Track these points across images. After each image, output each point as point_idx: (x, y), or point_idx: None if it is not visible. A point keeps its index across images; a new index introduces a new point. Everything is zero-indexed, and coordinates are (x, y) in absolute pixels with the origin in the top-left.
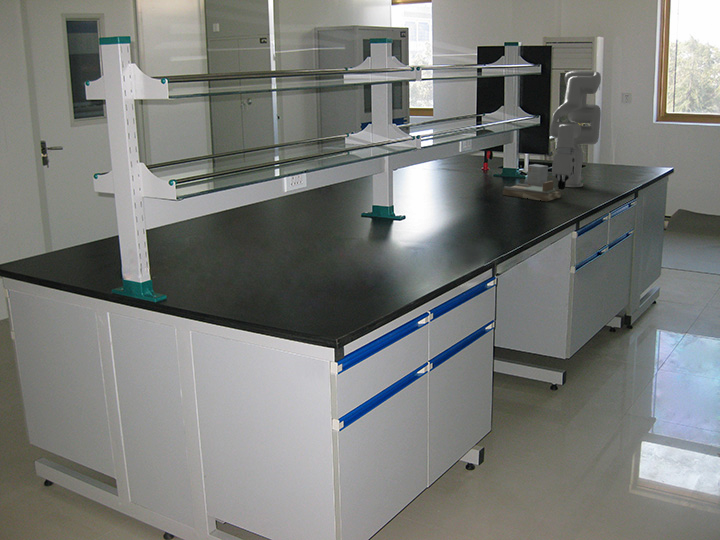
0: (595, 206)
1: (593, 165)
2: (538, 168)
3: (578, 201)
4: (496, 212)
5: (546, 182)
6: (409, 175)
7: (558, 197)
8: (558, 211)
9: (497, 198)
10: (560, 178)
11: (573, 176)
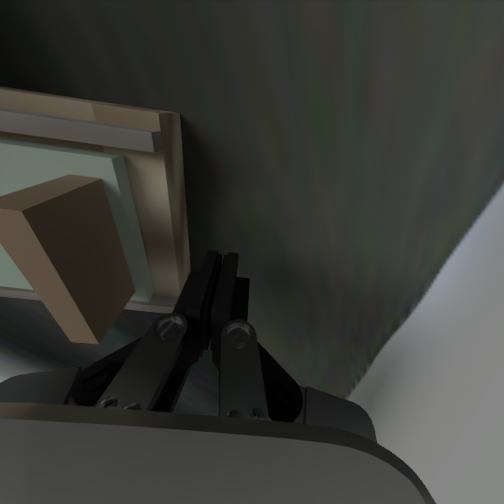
0: (439, 268)
1: None
2: None
3: (342, 193)
4: (177, 412)
5: (75, 323)
6: None
7: (181, 152)
8: (295, 373)
9: (21, 323)
10: (178, 367)
11: (373, 431)
